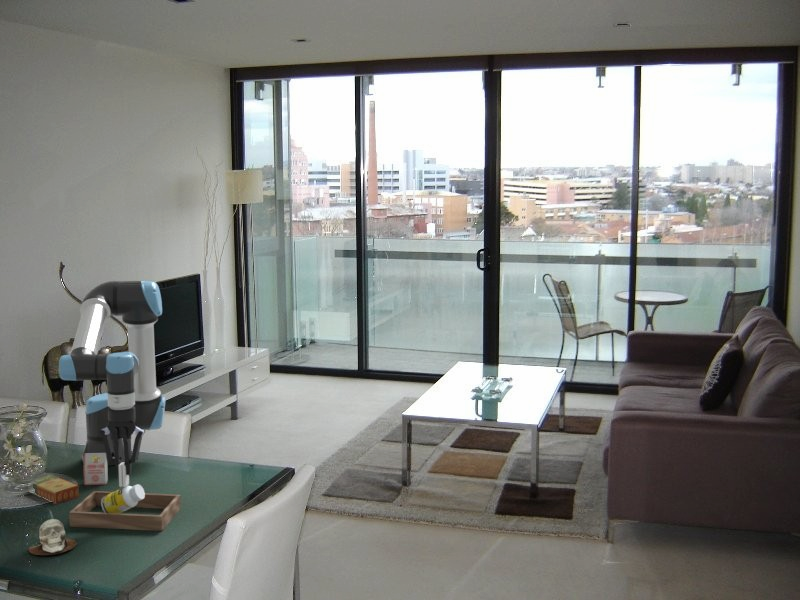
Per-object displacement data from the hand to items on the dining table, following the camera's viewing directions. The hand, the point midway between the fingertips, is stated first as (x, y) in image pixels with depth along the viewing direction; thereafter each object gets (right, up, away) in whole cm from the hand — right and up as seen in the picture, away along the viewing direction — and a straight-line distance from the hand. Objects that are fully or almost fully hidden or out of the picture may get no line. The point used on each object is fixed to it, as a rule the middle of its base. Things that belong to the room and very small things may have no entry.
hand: (124, 485), depth 254 cm
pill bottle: (-6, -7, +2) cm, 9 cm away
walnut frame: (0, -10, +2) cm, 10 cm away
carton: (-28, -7, +19) cm, 35 cm away
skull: (-13, -13, -20) cm, 27 cm away
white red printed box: (-18, -6, +29) cm, 35 cm away
